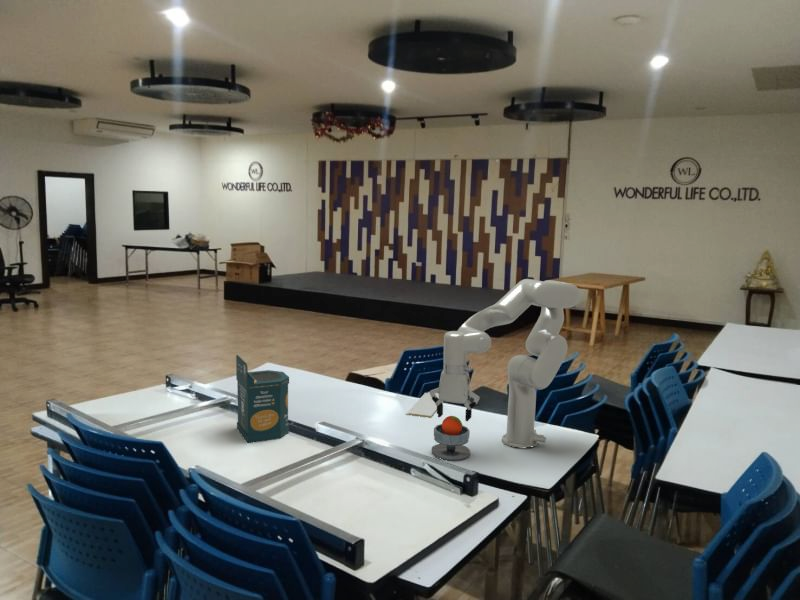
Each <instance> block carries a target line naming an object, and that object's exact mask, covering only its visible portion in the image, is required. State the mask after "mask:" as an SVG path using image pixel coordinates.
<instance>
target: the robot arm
mask: <svg viewBox="0 0 800 600" xmlns="http://www.w3.org/2000/svg"><path fill="white" fill-rule="evenodd" d="M580 297H581V293H580V290H579V288H578V287H577V286H576V285H574V284H573V283H570V282H564V281H558V280H553V279H550V280H549V279H547V280H544V281H542V280H538V279H537V280H536V279H533V278H532V279H531V278H524V279H522V280H520V281H518V282H517V284H515V285H514V286H513V287H512V288H511V289H510V290H508V292H506V294H504V296H502V297H501V298H500V299H499V300H498V301H497V302H496V303H495V304H493V305H489V306H488V307H486V308H484V309H482V310H480V311H478V312H476V313H475V314H473V315H472V316H470V317H469V318H468V319H467V320H466V321H464V323H462V324H461V326H459V328H458V329H457V330H451V331H447V332H445V333H444V335H443V370H442V371H441V373H440V379H439V384H438V387H437V388H434V389H431V391H428V392H429V393H430V395H431V397H432V400H433V401H434V402H435V403H436V405H437V411H436V414H437V418H441V417H442V416H443V415H444V404H443V403H445V402H446V403H453V404H460V405H461V404H463V405H464V407H465V408H466V409H465V420H464V421H466V422H469V420H471V418H472V411H473V408H474V407H475V406H476V405H477V404H478V402H479V400H480V398H481V397H480V396H479V395H477V394H476V393H475V392H473V391H472V390H471V379H470V374H469V372H471V367H470V366H469V365H468V364H467V354H477V355H478V354H484V353H486V352H487V351H488V350H489V349H490V348H491V347H492V339H491V337H490V335H489V334H488V333H487V332H485V331H487V330H489V329H490V328H494V327H499V326H504V325H509V324H511V323H513V322H514V321H516V320H517V319H518V318H519V316H521V315H522V314H523V313H525V311H526V310H527V309H529V307H531V305H532V306H536V307H541V310H540V315H539V316H538V319H537V321H536V322H535V324H534V326H533V327H532V329H531V331H530V333H529V334H528V337H527V339H526V341H525V348H526V349H525V350H526V351H527V352H528V353H530V354H531V355H533V356H535V357H537V359H536V358H534V357H531V356H528V355H526V354H525V355H524V354H518V355H514V356H513V357H511V359H510V360H509V362H508V364H507V367H506V368H507V377H508V378H507V379H508V380H507V381H508V402H507V403H508V404H507V416H506V417H507V419H506V420H507V422H506V433H505V434H504V435H502V436H501V442H502V444H504V445H507V446H508V445H509V447H511V446H512V448H515V447H531V446H535V445H536V444H537V443H539V442H540V443H544V444H545V443H546V442H547V437H546V436H544V435H543V434H538V433H537V429H535V423H536V422H535V418H536V404H537V403H536V401H537V390H543V389H546V388H548V386H550V384H551V383H552V382H553V380H554V378H555V376H556V375H557V373H558V371H559V369H560V367H562V364H563V363H564V360H565V358H566V356H567V353H568V349H569V347H568V341H567V340H566V338H565V337H564V336H562V335H560V334H559V333H560V331H561V329H562V327H563V325H564V321H565V313H564V312H565V311H564V309H571V308H573V307H575V306H577V304H578V303H579V301H580V299H581V298H580ZM468 371H469V372H468ZM435 393H439V399H438V398H437V396H436V395H435ZM471 398H472V399H473V401H472V402H471V401H470V400H471ZM442 401H444V402H443V403H442ZM537 445H538V444H537ZM537 445H536V446H537ZM536 446H535V447H536Z"/></svg>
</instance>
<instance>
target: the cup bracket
mask: <svg viewBox="0 0 800 600" xmlns="http://www.w3.org/2000/svg"><path fill="white" fill-rule="evenodd" d="M462 426H463V427H462V430H461V432H460V434H459V435H447V434H445V433H444V432H443V430H442V423H440V424H437V425H436V426H435V427H434V428H433V437H434V438H433V439H434V442H436V444H435V445H433V446H432V447H431V454H433V455H434V456H435V458H436V457H438V458H441V459H443V460H442V461H445V460H447V461H446V462H461V461H465V460H467V459H469V458H470V457H471V450H470V448H469V447H467V446H465V445H466V444H467V443H469V439H470V433H471V432H470V429H469V428H468V427H467V426H464V424H462ZM433 455H432V456H433ZM434 456H433V457H434ZM469 456H470V457H469ZM438 458H437V459H438ZM441 459H440V460H441Z"/></svg>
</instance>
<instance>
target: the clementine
mask: <svg viewBox="0 0 800 600" xmlns="http://www.w3.org/2000/svg"><path fill="white" fill-rule="evenodd" d="M441 424H442V430H443V432H444V433H445V434H447V435H459V434H460V432H461V430H462V427H463V426H464V425H463V423H462V421H461V419H460V418H458V417H457V416H455V415H449V416H446V417H445V418H444V419H443V420H442V422H441ZM462 425H463V426H462Z"/></svg>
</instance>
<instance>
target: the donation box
mask: <svg viewBox="0 0 800 600" xmlns="http://www.w3.org/2000/svg"><path fill="white" fill-rule="evenodd" d="M235 357H236V359H235V360H236V362H235V364H236V365H235V368H236V369H235V370H236V376H235V377H236V381H237V422H236V429H237V431H238V430H239V431H238V432H239V434H240V435H241V434H242V435H241V436H242V438H243V437H244V438H243V439H244V441H245V440H246V441H245V442H246V444H247V443H248V444H254V443H259V442H266V441H272V440H280V439H283V438H284V437H285V436H286V435H288V434H290V426H289V384H290V376H288V375H287V374H286V373H285V372H284V371H280V370H270V369H267V370H258V371H248V364H247V362H245V361H244V359H243V358H242V357H241V356H240V355H238V354H236V356H235ZM253 442H254V443H253Z"/></svg>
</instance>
